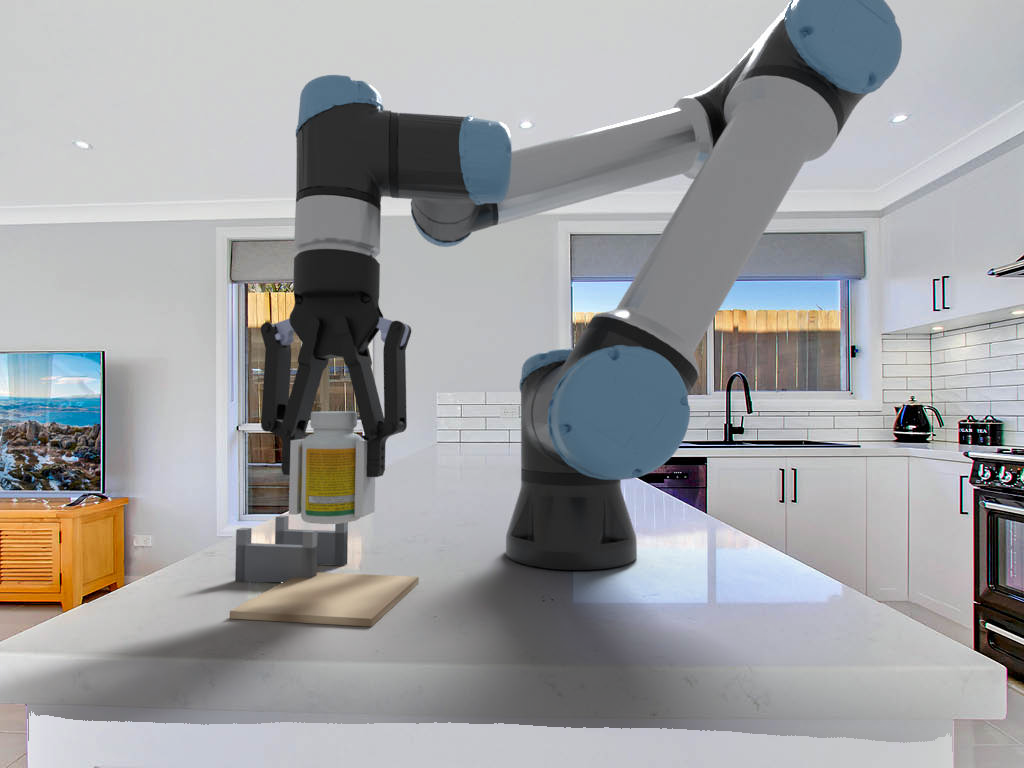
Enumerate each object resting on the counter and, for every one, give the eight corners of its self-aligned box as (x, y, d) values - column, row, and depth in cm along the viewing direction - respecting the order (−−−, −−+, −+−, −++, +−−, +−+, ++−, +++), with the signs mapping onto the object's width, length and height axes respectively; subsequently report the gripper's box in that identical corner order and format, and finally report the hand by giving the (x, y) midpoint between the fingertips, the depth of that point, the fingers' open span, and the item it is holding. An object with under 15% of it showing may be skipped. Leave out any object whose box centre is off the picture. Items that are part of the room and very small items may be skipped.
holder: (347, 563, 66) (347, 517, 66) (311, 584, 58) (312, 532, 58) (279, 560, 67) (280, 515, 68) (235, 580, 59) (236, 529, 60)
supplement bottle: (292, 518, 54) (293, 411, 55) (348, 511, 58) (349, 411, 58) (314, 527, 50) (315, 412, 50) (373, 520, 54) (374, 411, 54)
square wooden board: (418, 583, 59) (418, 576, 59) (371, 626, 47) (371, 618, 47) (302, 577, 60) (302, 571, 60) (229, 618, 49) (229, 610, 49)
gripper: (446, 263, 57) (443, 509, 56) (266, 268, 60) (260, 503, 59) (423, 241, 50) (419, 524, 49) (219, 248, 53) (211, 516, 52)
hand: (332, 512), depth 54 cm, fingers closed on supplement bottle, 5 cm apart
